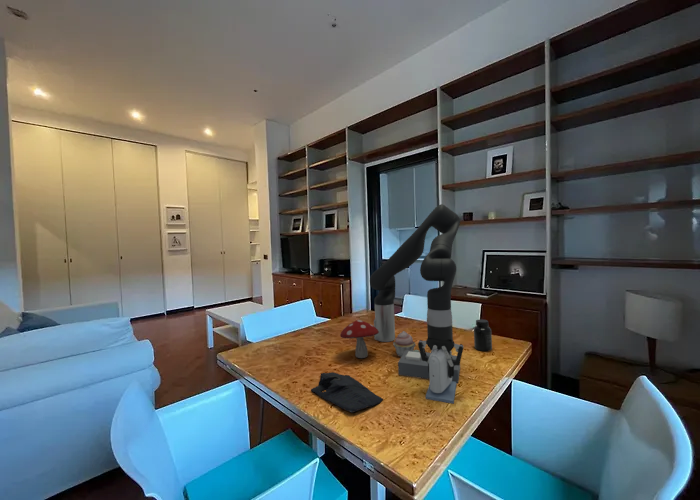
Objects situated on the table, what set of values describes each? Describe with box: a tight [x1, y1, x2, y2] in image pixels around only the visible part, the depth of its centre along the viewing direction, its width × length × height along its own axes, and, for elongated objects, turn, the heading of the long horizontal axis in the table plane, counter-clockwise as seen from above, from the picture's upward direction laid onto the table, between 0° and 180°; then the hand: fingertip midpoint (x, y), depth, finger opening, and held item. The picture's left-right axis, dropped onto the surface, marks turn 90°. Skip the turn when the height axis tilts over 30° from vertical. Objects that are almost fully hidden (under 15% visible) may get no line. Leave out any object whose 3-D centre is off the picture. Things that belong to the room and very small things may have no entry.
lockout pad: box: [425, 381, 457, 404], centre depth 92 cm, size 8×12×1 cm, turn 156°
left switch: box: [406, 351, 421, 361], centre depth 108 cm, size 5×5×2 cm
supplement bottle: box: [473, 319, 493, 352], centre depth 124 cm, size 7×7×12 cm
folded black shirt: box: [311, 371, 384, 414], centre depth 92 cm, size 15×22×5 cm
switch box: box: [397, 349, 461, 385], centre depth 105 cm, size 20×12×5 cm, turn 66°
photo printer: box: [429, 349, 453, 393], centre depth 92 cm, size 10×4×12 cm, turn 140°
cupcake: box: [392, 330, 417, 358], centre depth 121 cm, size 9×9×10 cm
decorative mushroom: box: [339, 319, 379, 359], centre depth 122 cm, size 16×16×15 cm
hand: (441, 375), depth 92 cm, fingers closed on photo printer, 5 cm apart
